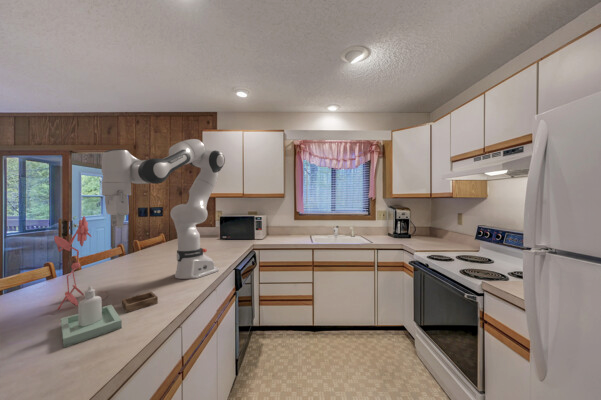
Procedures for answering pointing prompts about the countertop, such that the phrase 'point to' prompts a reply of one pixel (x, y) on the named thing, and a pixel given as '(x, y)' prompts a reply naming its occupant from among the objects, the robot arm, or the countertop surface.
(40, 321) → the countertop surface
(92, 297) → the eye dropper bottle
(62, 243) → the red leafy plant shape
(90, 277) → the countertop surface
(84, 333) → the tray
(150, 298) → the walnut rectangular frame
